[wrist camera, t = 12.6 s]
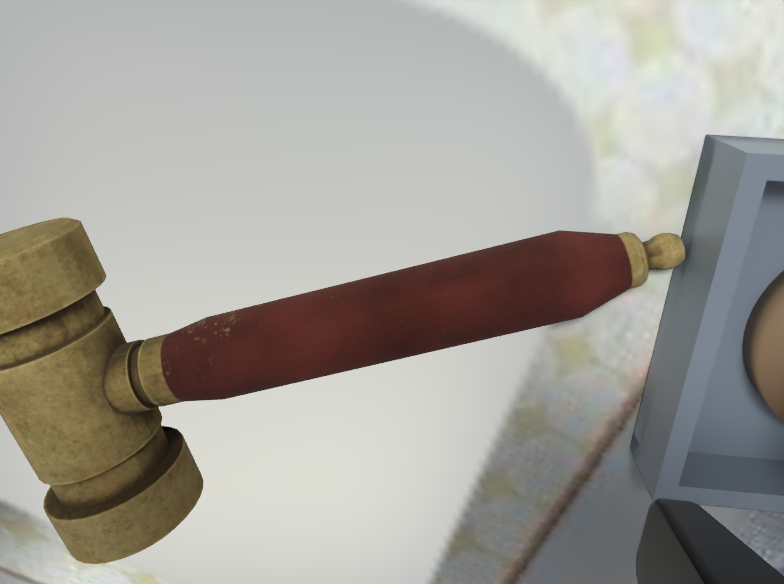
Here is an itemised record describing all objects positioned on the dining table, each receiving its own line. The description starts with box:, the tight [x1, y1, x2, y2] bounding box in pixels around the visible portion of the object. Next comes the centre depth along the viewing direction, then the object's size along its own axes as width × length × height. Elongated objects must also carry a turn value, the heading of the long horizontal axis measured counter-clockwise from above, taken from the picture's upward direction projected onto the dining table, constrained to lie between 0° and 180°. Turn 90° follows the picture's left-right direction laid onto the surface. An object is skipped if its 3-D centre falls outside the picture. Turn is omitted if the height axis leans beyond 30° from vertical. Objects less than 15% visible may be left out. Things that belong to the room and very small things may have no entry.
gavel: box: [0, 218, 685, 564], centre depth 19 cm, size 21×5×10 cm
